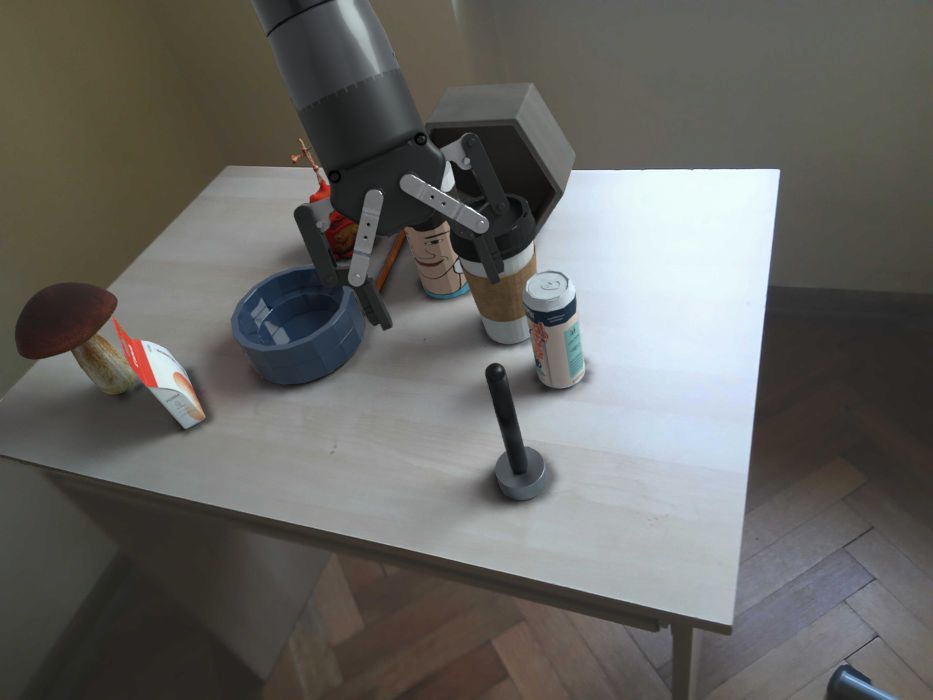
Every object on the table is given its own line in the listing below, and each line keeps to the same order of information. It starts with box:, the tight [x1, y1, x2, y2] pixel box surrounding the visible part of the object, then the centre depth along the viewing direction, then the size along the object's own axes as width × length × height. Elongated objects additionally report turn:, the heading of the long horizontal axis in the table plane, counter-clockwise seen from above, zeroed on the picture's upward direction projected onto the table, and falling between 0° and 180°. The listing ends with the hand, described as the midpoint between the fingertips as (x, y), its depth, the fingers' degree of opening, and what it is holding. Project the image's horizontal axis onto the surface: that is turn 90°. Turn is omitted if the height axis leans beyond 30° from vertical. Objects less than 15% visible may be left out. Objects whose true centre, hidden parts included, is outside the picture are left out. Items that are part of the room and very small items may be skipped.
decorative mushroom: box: [14, 281, 136, 395], centre depth 78 cm, size 11×11×15 cm
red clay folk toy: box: [290, 138, 376, 261], centre depth 89 cm, size 8×7×15 cm
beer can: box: [522, 269, 586, 389], centre depth 67 cm, size 5×5×12 cm
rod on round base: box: [484, 362, 548, 501], centre depth 58 cm, size 4×4×15 cm
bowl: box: [230, 263, 367, 385], centre depth 80 cm, size 14×14×6 cm
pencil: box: [375, 229, 406, 292], centre depth 89 cm, size 1×18×1 cm, turn 166°
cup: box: [404, 161, 470, 300], centre depth 80 cm, size 7×7×15 cm
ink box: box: [110, 314, 206, 430], centre depth 76 cm, size 3×9×12 cm, turn 31°
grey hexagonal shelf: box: [424, 81, 577, 242], centre depth 83 cm, size 17×8×21 cm
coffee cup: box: [449, 193, 538, 345], centre depth 72 cm, size 8×8×15 cm
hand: (441, 304), depth 52 cm, fingers open, 8 cm apart
